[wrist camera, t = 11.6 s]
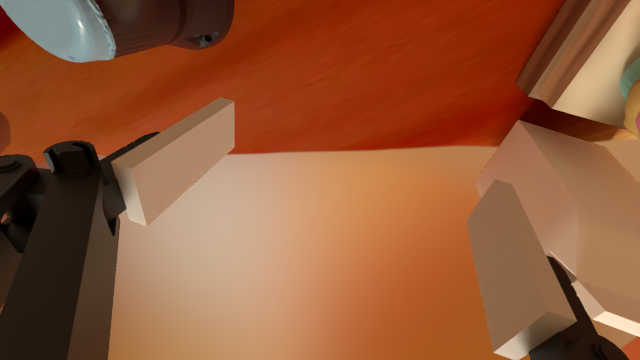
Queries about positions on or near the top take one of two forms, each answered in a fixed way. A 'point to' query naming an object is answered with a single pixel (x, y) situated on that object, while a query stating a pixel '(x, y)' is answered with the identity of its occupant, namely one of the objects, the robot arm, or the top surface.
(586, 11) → the block bottom
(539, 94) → the block top
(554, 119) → the top surface
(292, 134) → the top surface
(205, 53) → the top surface
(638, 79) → the cupcake
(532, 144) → the milk
